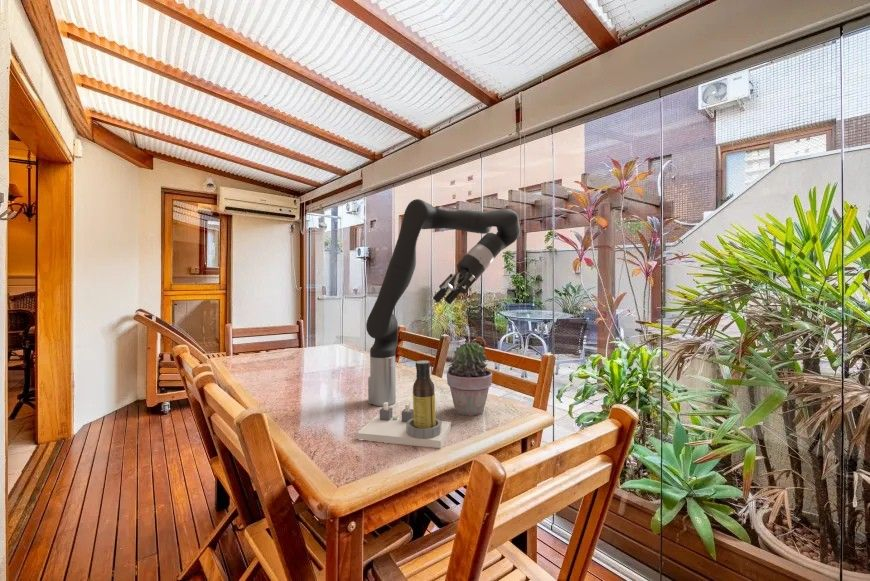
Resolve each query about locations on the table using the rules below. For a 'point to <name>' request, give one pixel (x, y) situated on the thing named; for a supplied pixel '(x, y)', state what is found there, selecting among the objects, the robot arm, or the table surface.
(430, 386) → the sauce bottle
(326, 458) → the table surface
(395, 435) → the breaker board
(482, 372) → the potted plant
